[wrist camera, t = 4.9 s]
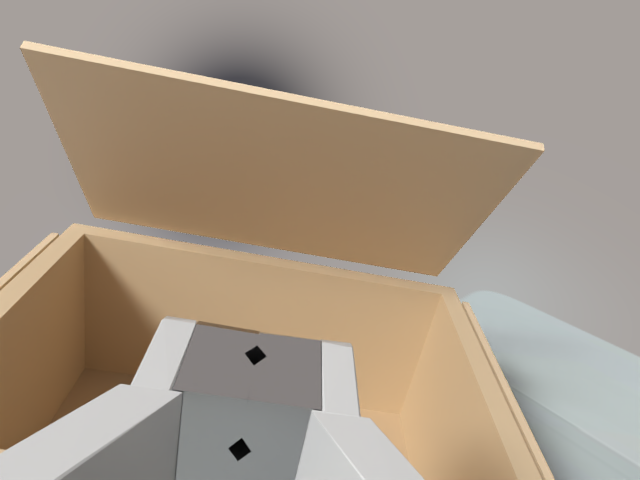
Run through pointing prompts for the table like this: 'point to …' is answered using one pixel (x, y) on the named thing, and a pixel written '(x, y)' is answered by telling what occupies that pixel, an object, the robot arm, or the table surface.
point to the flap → (272, 163)
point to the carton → (265, 316)
